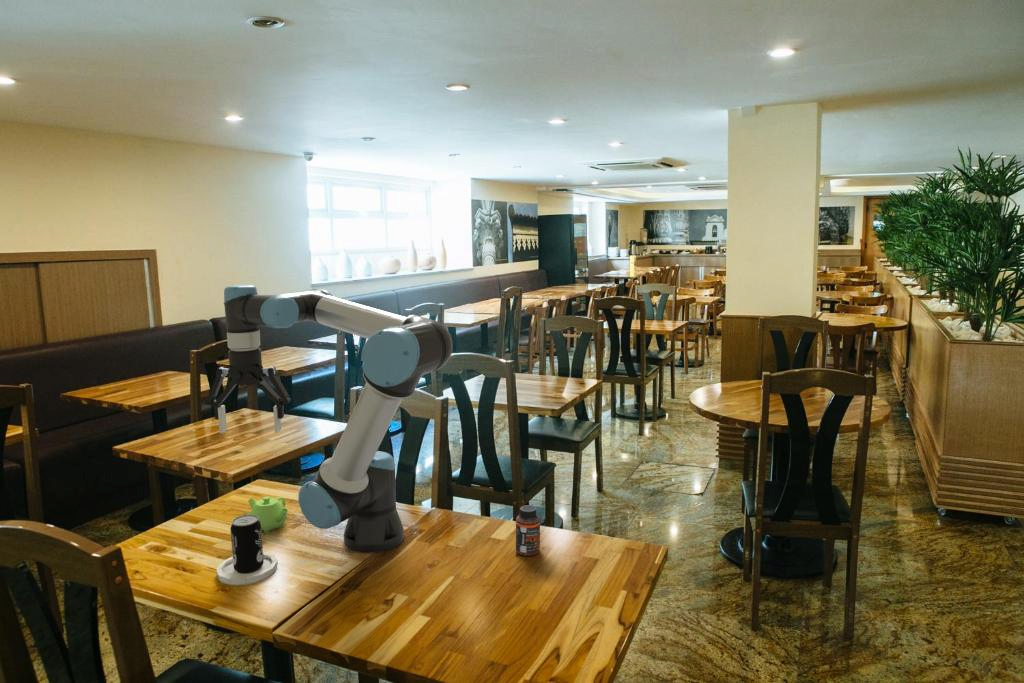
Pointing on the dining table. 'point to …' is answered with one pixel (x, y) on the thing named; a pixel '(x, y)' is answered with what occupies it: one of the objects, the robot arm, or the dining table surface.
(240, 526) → the beverage can
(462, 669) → the dining table surface
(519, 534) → the supplement bottle
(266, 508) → the green rounded body
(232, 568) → the saucer
